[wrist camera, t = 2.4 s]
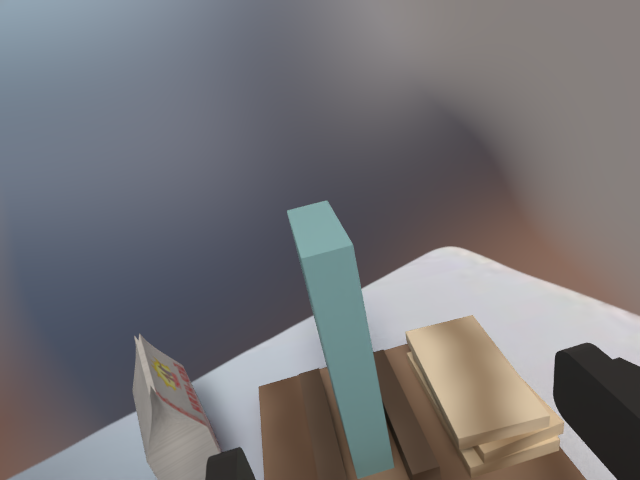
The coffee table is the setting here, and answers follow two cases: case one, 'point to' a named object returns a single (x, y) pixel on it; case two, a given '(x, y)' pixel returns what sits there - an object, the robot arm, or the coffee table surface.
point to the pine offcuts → (480, 397)
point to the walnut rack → (402, 424)
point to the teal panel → (343, 333)
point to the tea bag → (170, 417)
